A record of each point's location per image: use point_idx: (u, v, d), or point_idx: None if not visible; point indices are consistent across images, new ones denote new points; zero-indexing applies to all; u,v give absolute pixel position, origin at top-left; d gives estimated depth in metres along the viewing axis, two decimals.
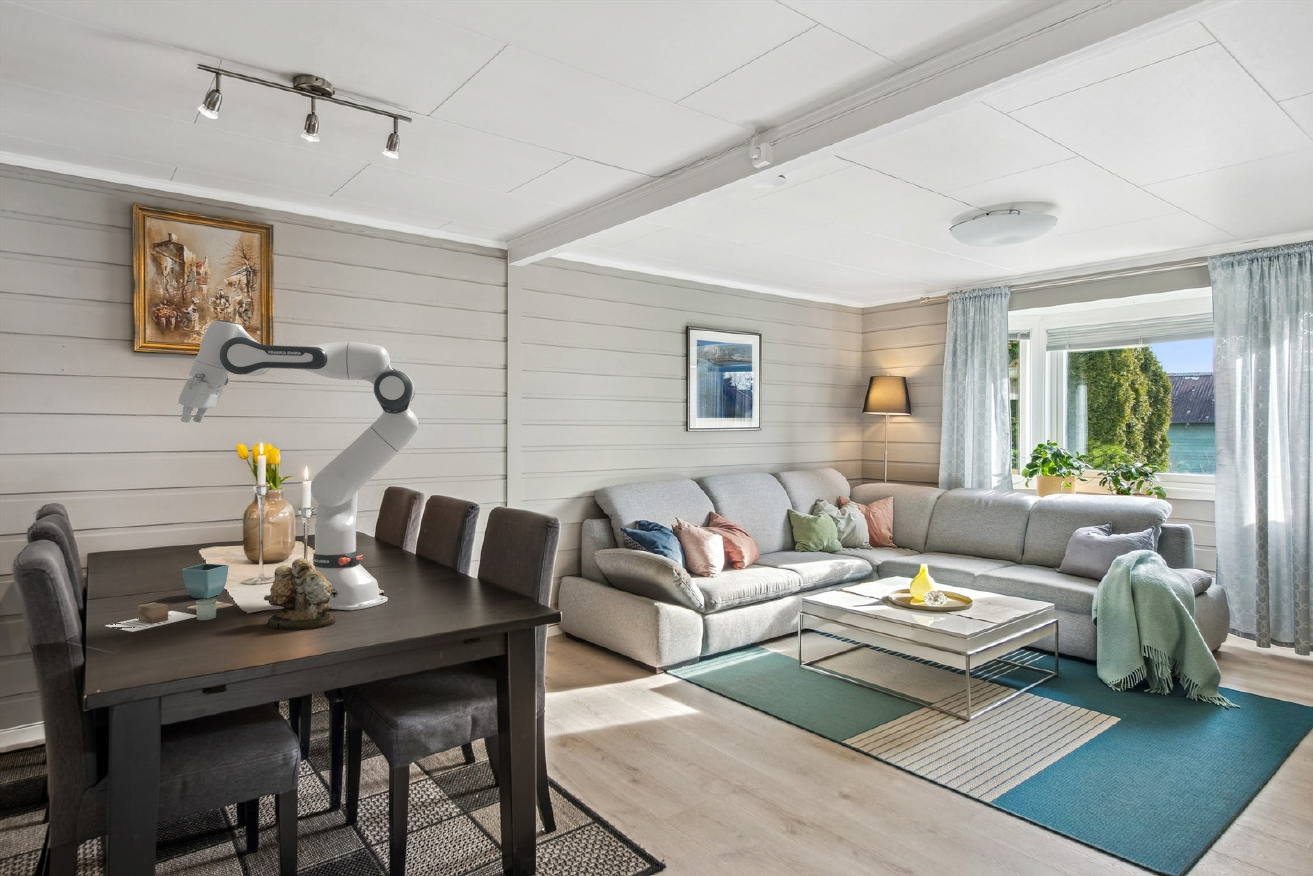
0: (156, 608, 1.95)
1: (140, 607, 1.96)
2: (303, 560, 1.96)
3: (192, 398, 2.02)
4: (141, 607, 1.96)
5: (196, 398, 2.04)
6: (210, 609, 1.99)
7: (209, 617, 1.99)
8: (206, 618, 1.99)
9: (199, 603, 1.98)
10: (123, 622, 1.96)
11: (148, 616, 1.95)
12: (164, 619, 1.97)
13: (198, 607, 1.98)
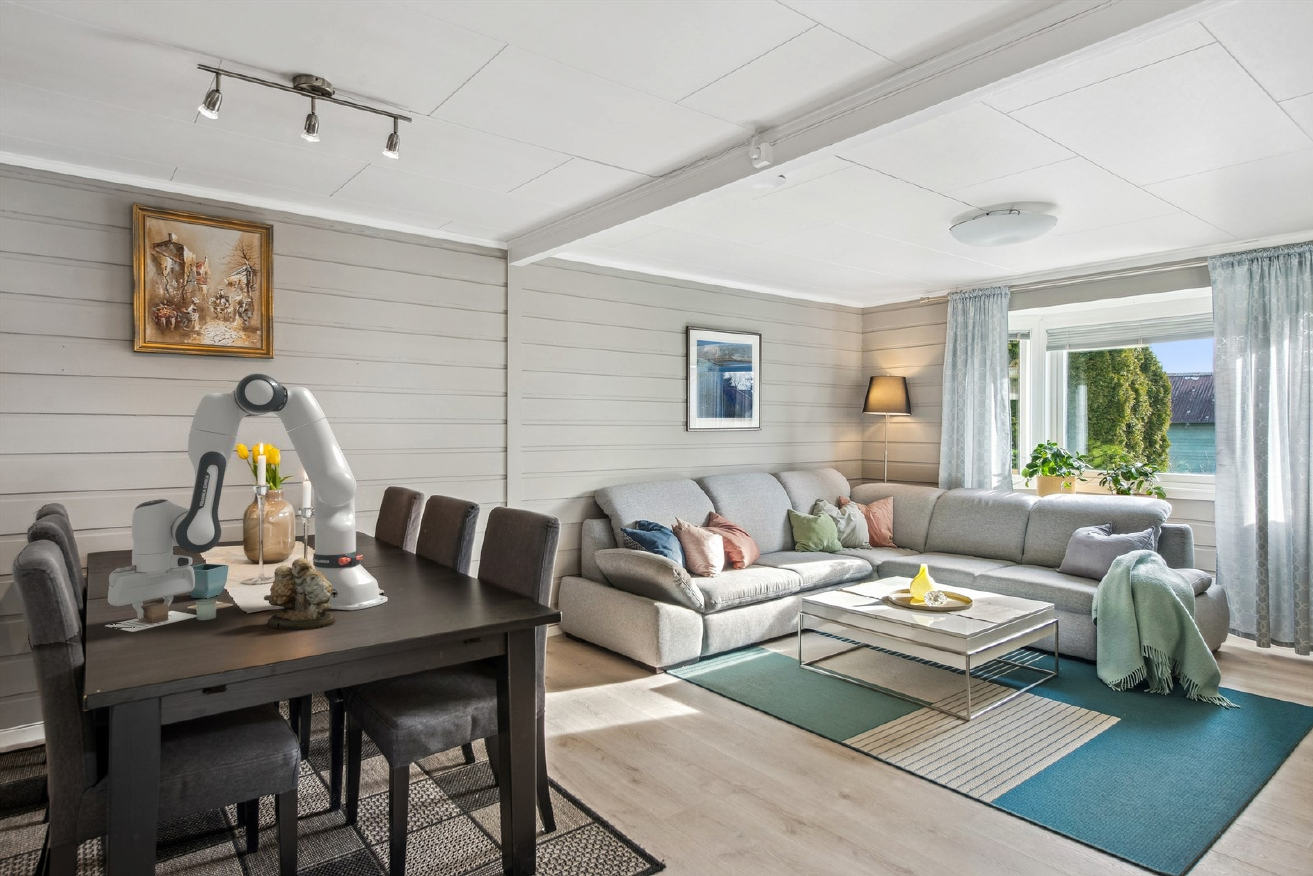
0: (156, 608, 1.95)
1: None
2: (303, 560, 1.96)
3: (114, 597, 1.88)
4: (141, 607, 1.96)
5: (122, 594, 1.89)
6: (210, 609, 1.99)
7: (209, 617, 1.99)
8: (206, 618, 1.99)
9: (199, 603, 1.98)
10: (123, 622, 1.96)
11: (148, 616, 1.95)
12: (164, 619, 1.97)
13: (198, 607, 1.98)
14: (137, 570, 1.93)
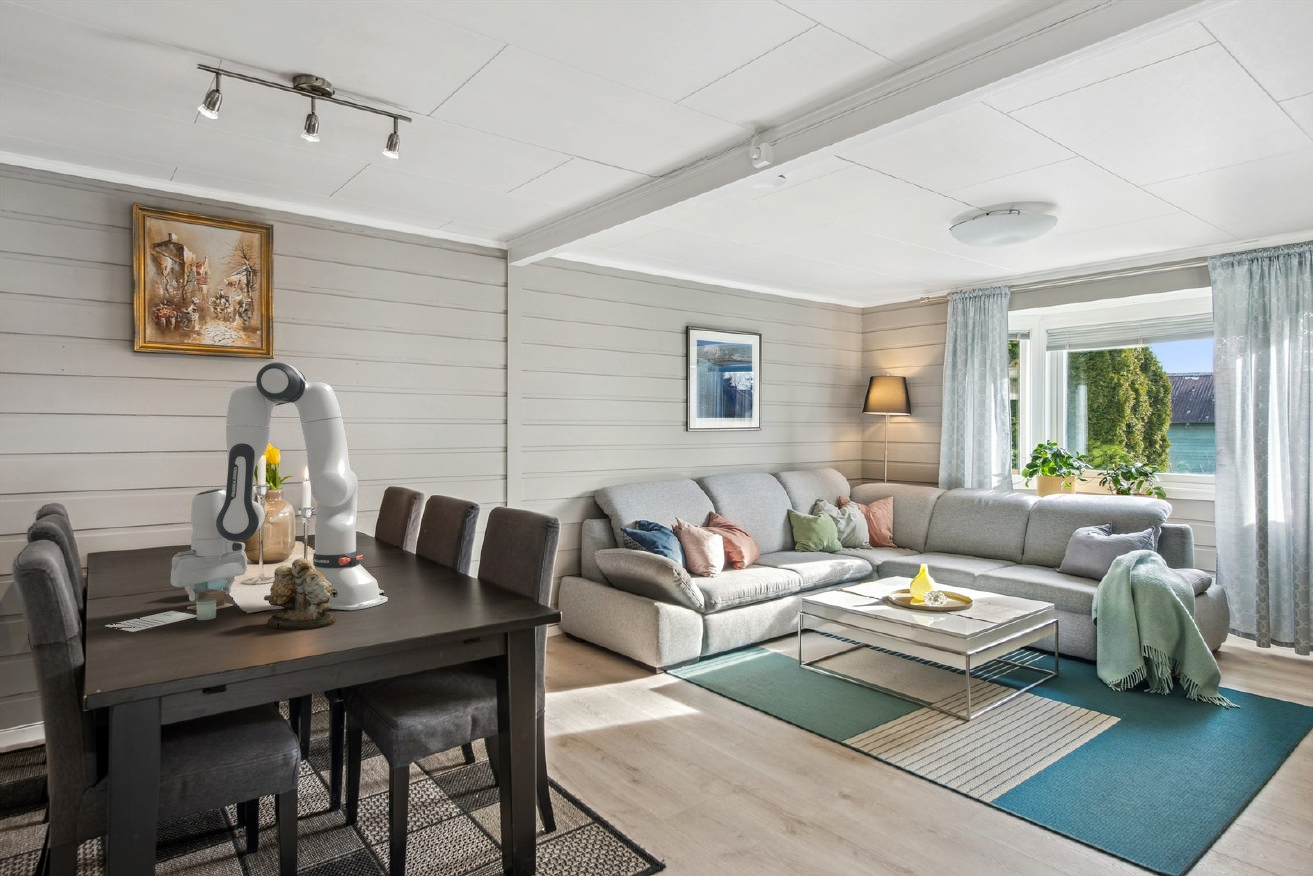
0: (213, 594, 2.10)
1: (198, 593, 2.11)
2: (303, 560, 1.96)
3: (177, 579, 2.02)
4: (199, 593, 2.11)
5: (183, 576, 2.04)
6: (210, 609, 1.99)
7: (209, 617, 1.99)
8: (206, 618, 1.99)
9: (199, 603, 1.98)
10: (123, 622, 1.96)
11: None
12: (220, 604, 2.12)
13: (198, 607, 1.98)
14: (196, 554, 2.08)
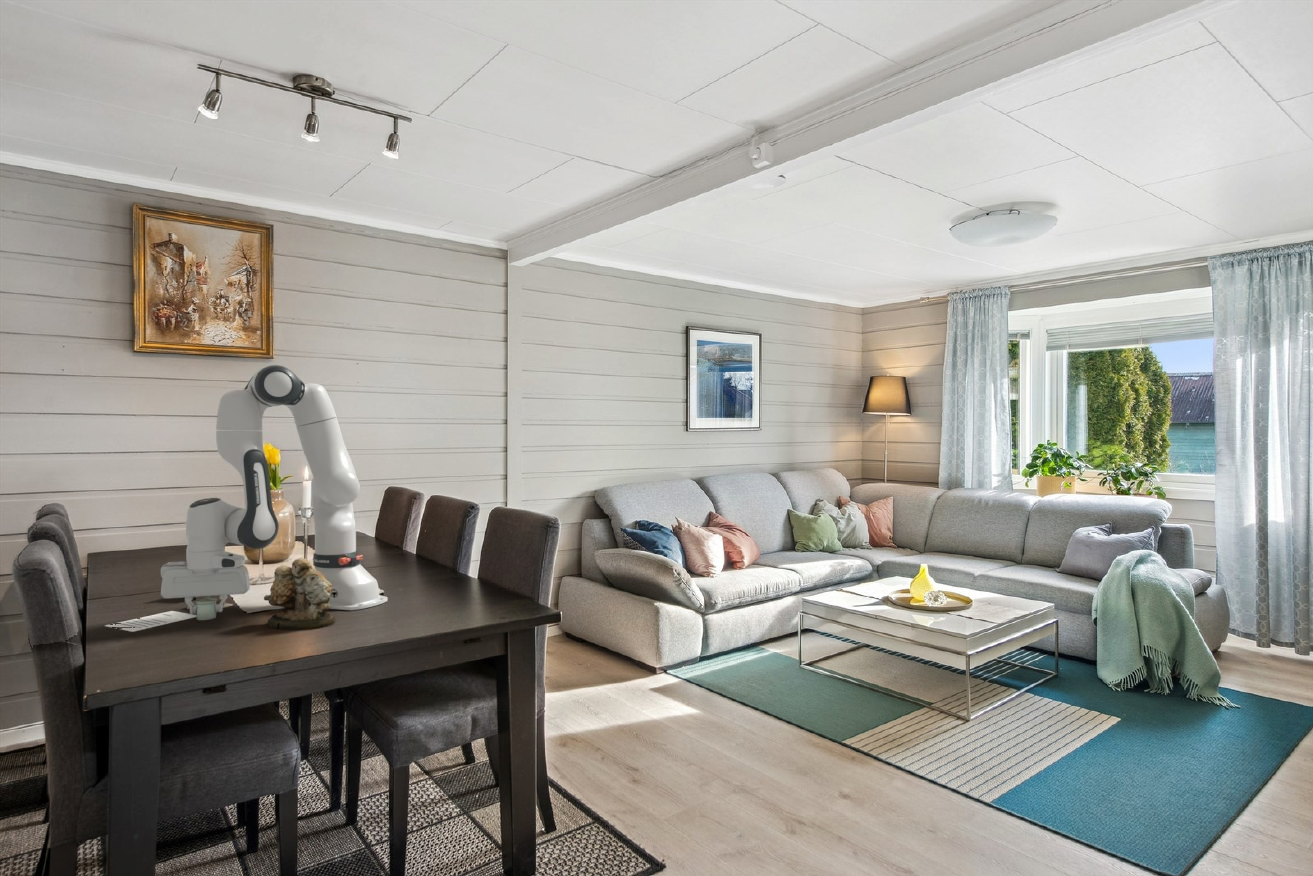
0: None
1: None
2: (303, 560, 1.96)
3: (161, 589, 1.96)
4: None
5: (167, 588, 1.96)
6: (210, 609, 1.99)
7: (209, 617, 1.99)
8: (206, 618, 1.98)
9: (199, 603, 1.98)
10: (123, 622, 1.96)
11: None
12: None
13: (198, 607, 1.98)
14: (186, 566, 1.98)
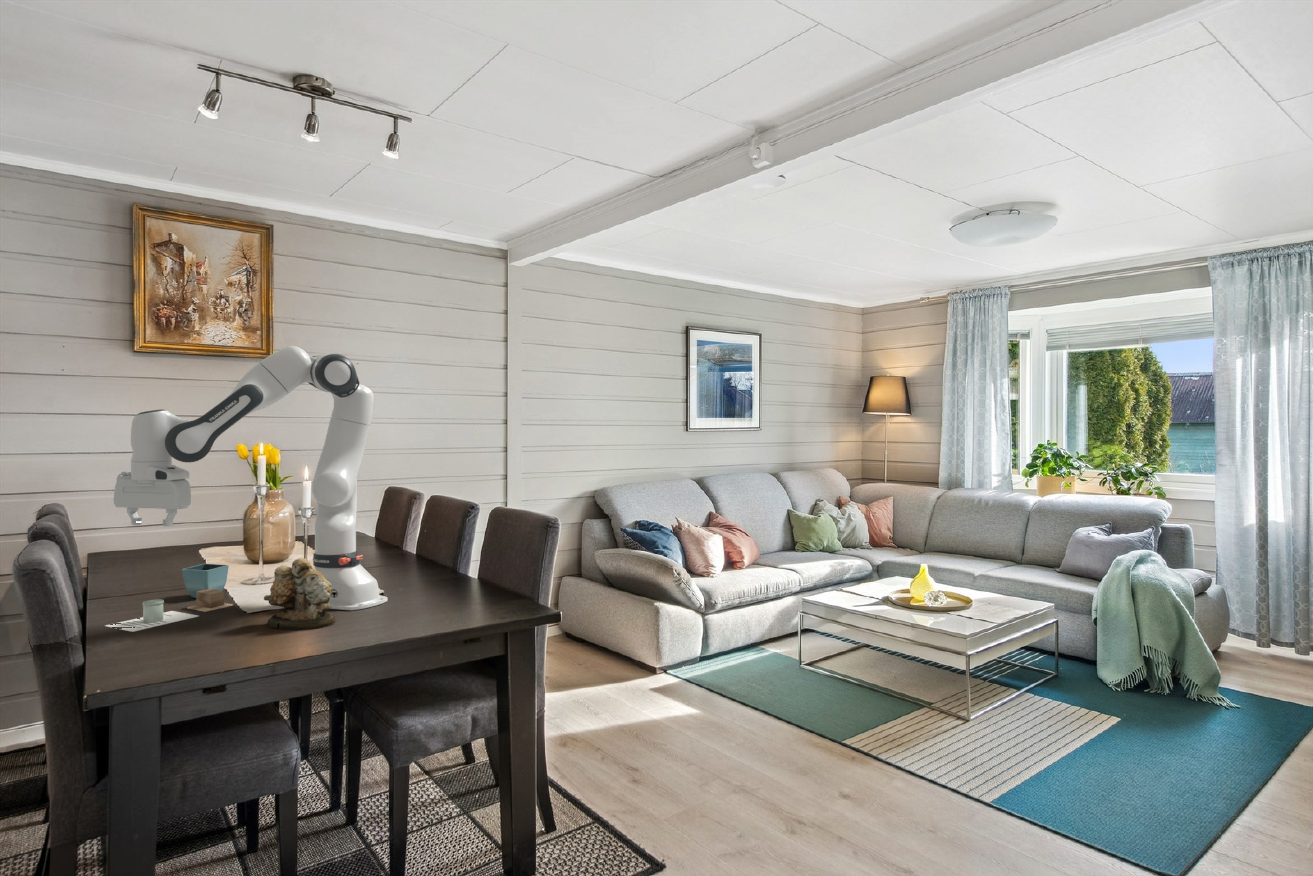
0: (213, 594, 2.10)
1: (198, 593, 2.11)
2: (303, 560, 1.96)
3: None
4: (199, 593, 2.11)
5: (117, 497, 1.96)
6: (154, 611, 1.96)
7: (153, 619, 1.95)
8: (150, 620, 1.95)
9: (144, 604, 1.95)
10: (123, 622, 1.96)
11: (206, 601, 2.10)
12: (220, 604, 2.12)
13: (143, 608, 1.96)
14: None
